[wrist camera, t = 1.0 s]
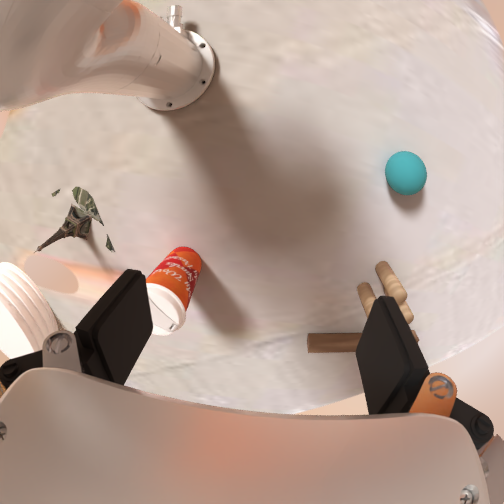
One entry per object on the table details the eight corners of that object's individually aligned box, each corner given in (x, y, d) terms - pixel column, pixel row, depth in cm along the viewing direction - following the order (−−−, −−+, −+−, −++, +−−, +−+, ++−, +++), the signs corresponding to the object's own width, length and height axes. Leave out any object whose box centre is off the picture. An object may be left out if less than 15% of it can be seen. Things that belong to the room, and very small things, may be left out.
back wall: (308, 333, 49) (309, 344, 46) (414, 329, 47) (419, 339, 44) (307, 341, 50) (308, 352, 47) (411, 337, 48) (415, 347, 45)
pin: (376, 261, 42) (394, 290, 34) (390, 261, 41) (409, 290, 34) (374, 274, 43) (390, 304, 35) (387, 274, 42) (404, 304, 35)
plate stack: (-2, 307, 60) (-21, 327, 50) (-7, 242, 49) (-35, 262, 38) (58, 359, 65) (40, 384, 55) (62, 303, 53) (35, 333, 43)
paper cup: (217, 258, 44) (193, 314, 31) (193, 290, 47) (167, 347, 34) (176, 230, 42) (137, 276, 30) (155, 264, 45) (117, 315, 33)
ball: (380, 146, 34) (397, 151, 29) (416, 152, 33) (436, 158, 28) (377, 187, 37) (392, 198, 31) (412, 191, 36) (430, 202, 31)
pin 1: (358, 282, 44) (371, 314, 36) (371, 282, 43) (386, 313, 36) (355, 294, 45) (367, 327, 37) (368, 294, 44) (382, 326, 37)
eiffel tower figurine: (118, 251, 46) (76, 291, 34) (82, 262, 48) (42, 299, 36) (86, 173, 40) (32, 196, 28) (52, 193, 42) (3, 218, 30)
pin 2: (385, 282, 43) (402, 313, 35) (397, 282, 43) (415, 312, 35) (382, 294, 44) (397, 325, 37) (394, 294, 44) (411, 325, 36)
